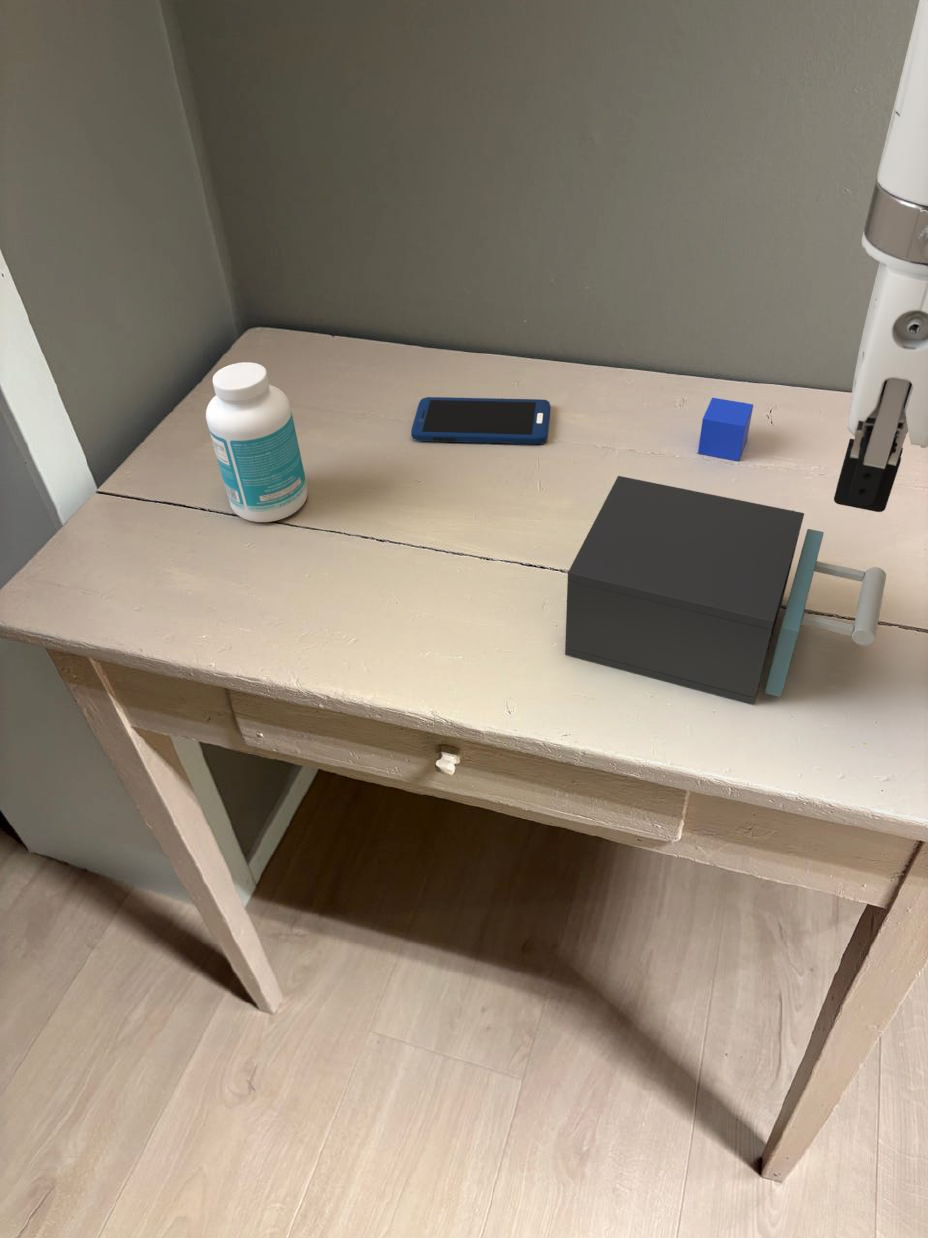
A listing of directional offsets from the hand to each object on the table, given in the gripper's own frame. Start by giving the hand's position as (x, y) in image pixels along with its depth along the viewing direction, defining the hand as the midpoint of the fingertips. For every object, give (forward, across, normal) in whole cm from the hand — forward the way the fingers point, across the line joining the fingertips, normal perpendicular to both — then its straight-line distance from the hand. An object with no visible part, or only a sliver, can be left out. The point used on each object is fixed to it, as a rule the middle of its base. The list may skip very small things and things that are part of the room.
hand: (859, 500), depth 63 cm
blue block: (+15, +26, +13) cm, 33 cm away
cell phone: (+15, +22, +37) cm, 45 cm away
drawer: (+14, 0, +6) cm, 15 cm away
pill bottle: (+15, +3, +51) cm, 53 cm away
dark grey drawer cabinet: (+15, 0, +11) cm, 18 cm away
